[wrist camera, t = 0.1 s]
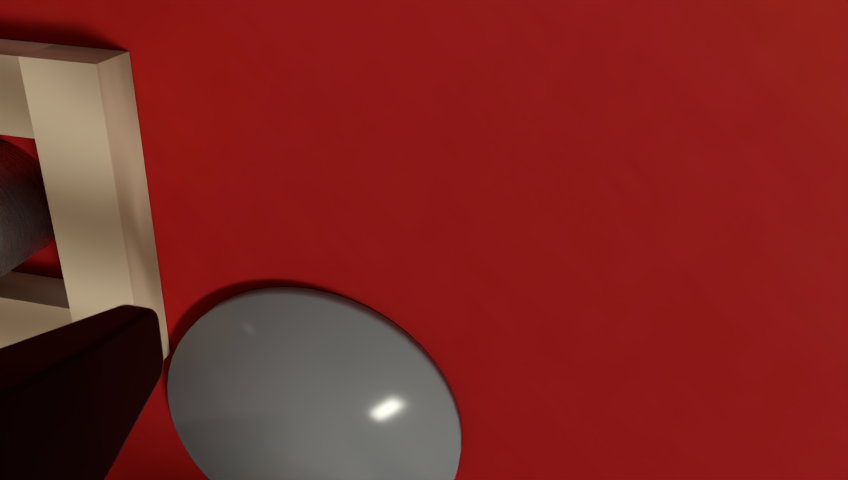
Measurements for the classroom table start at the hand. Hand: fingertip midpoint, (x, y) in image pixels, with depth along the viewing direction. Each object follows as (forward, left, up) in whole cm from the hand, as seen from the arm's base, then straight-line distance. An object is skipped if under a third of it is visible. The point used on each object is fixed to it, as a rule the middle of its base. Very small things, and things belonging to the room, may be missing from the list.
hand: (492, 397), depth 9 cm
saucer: (-14, +8, -15) cm, 22 cm away
